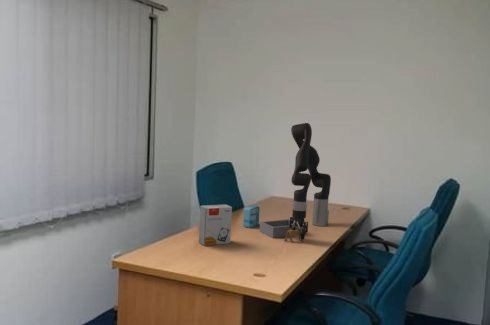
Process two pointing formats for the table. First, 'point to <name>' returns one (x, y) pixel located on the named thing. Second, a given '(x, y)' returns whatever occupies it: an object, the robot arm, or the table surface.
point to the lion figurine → (294, 234)
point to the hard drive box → (215, 224)
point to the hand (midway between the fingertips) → (297, 237)
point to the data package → (251, 216)
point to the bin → (275, 228)
